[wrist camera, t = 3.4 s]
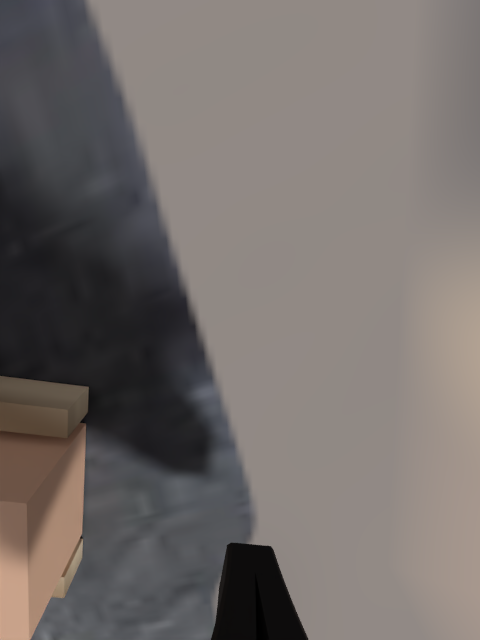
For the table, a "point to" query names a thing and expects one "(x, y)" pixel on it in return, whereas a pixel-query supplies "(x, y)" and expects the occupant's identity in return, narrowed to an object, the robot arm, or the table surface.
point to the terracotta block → (37, 522)
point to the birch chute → (45, 427)
